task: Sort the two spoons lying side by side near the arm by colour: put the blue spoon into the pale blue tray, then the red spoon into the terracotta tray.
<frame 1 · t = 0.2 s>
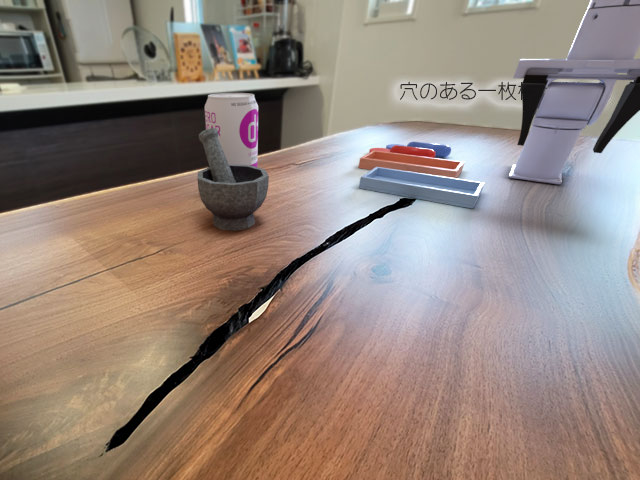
hand: (557, 147, 45), 10 cm above the table, tool pointing down, fingers open, 7 cm apart
blue spoon: (426, 155, 83), on the table
red spoon: (410, 159, 80), on the table
white soda can: (233, 194, 63), on the table
red tray: (408, 169, 73), on the table
mortar and pestle: (230, 221, 53), on the table
blue tray: (417, 191, 62), on the table
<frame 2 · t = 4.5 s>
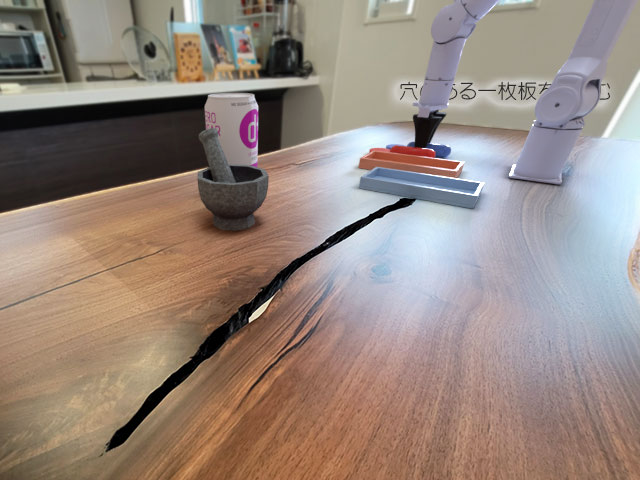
hand: (421, 148, 83), 1 cm above the table, tool pointing down, fingers closed on blue spoon, 2 cm apart
blue spoon: (426, 155, 83), on the table, touching gripper
everything else where it was.
when the fingers open (2 cm above the table, at t = 9.7 s): blue spoon stays where it is, resting on blue tray.
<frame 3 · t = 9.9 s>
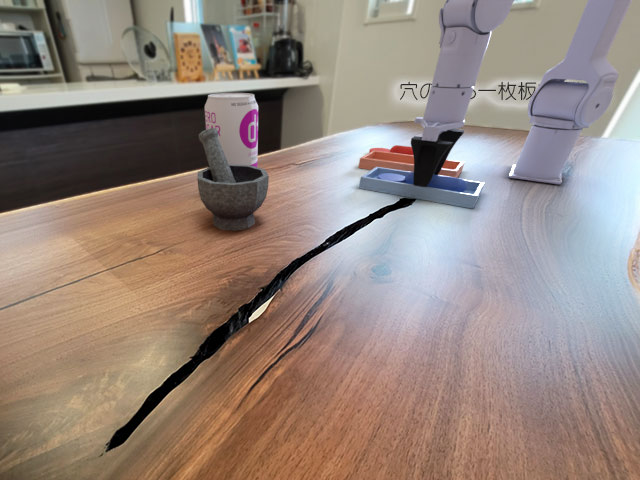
hand: (426, 179, 61), 2 cm above the table, tool pointing down, fingers open, 7 cm apart
blue spoon: (432, 190, 61), resting on blue tray
everything else where it was.
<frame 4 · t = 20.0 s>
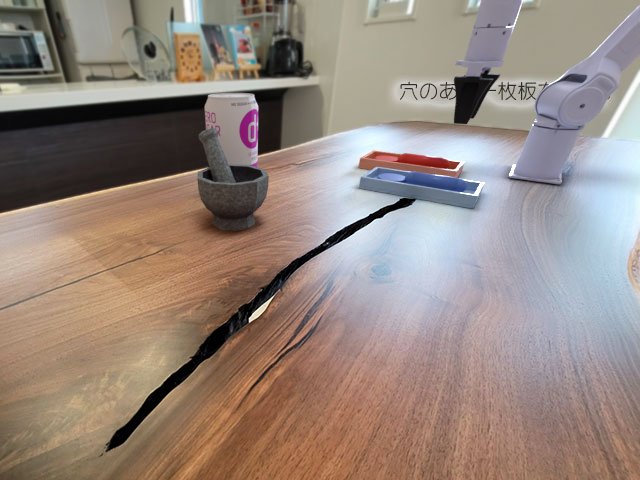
hand: (464, 120, 66), 9 cm above the table, tool pointing down, fingers open, 7 cm apart
red spoon: (420, 169, 72), resting on red tray
everything else where it was.
at the end: blue spoon inside the target area in the blue tray (1.7 cm from its centre), point 0.5 cm above the blue tray's base; red spoon inside the target area in the red tray (1.8 cm from its centre), point 0.5 cm above the red tray's base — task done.
